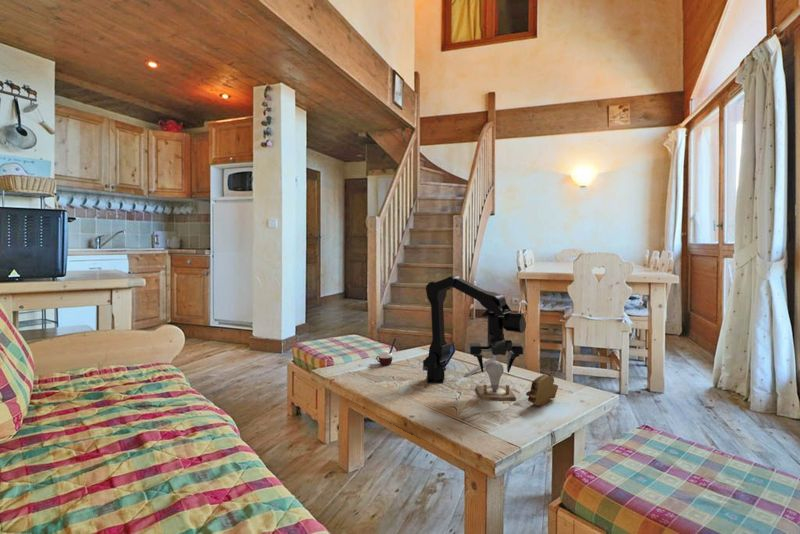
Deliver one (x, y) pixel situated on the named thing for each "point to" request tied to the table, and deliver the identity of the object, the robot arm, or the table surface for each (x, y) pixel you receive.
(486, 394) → the pin holder
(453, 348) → the handheld game console
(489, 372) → the lightbulb
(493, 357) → the caliper
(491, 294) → the robot arm
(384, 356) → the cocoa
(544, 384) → the wooden carving
